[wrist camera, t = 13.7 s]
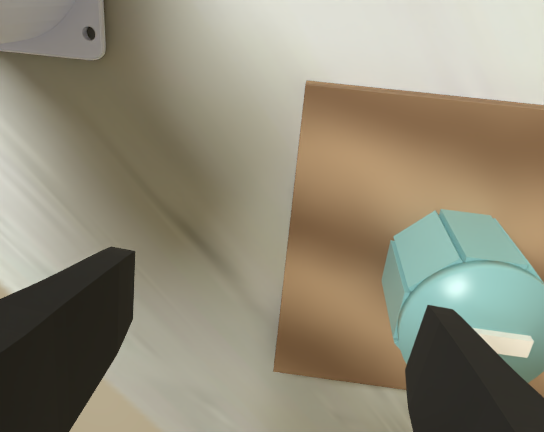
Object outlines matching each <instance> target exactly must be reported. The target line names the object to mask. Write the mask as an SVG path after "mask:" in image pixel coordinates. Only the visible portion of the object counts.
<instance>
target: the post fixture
mask: <svg viewBox="0 0 544 432" xmlns="http://www.w3.org/2000/svg"><path fill="white" fill-rule="evenodd" d="M441 209H445V210H453V211H461V212H469V213H476V214H484V215H491V217H492V218H493V219H494V218H496V220H497V221H498V222H499V224H500V225H501V226H502V228H503V229H504V230H505V232H506V233H507V234H508V235H509V237H510V238H511V239H512V241H513V242H514V243H515V245H516V246H517V247H518V249H519V250H520V251H521V252H522V254H523V255H524V256H525V258H526V259H527V260H528V262H529V263H530V264H531V266H532V267H533V268H534V270H535V271H536V273H537V274H538V275H539V277H540V278H541V280H542V281H543V283H544V105H536V104H526V103H517V102H507V101H498V100H488V99H478V98H469V97H459V96H450V95H440V94H430V93H421V92H411V91H402V90H392V89H382V88H373V87H363V86H354V85H344V84H334V83H325V82H315V81H306V86H305V94H304V103H303V112H302V121H301V130H300V139H299V148H298V157H297V166H296V175H295V183H294V192H293V201H292V210H291V219H290V228H289V237H288V246H287V255H286V263H285V272H284V281H283V290H282V299H281V308H280V317H279V326H278V335H277V344H276V352H275V361H274V370H273V372H280V373H288V374H295V375H302V376H310V377H317V378H324V379H331V380H339V381H346V382H353V383H361V384H368V385H375V386H383V387H390V388H397V389H404V390H406V377H405V368H406V365H407V364H406V362H405V361H404V359H403V356H402V353H401V350H400V349H399V348H398V347H397V346H396V345H395V343H394V340H393V336H392V331H391V326H390V321H389V316H388V311H387V306H386V301H385V296H384V291H383V286H382V276H383V271H384V267H385V262H386V258H387V254H388V249H389V245H390V240H392V241H395V240H394V236H395V235H396V234H398V233H400V232H401V231H403V230H404V229H406V228H408V227H409V226H411V225H412V224H414V223H416V222H417V221H419V220H420V219H422V218H424V217H425V216H427V215H428V214H430V213H432V212H433V211H435V210H436V212H437V213H438V215H439V214H440V210H441ZM528 384H529V385H530V386H532V387H533V388H534V389H535V390H536V391H537V392H538V393H539V394H540V395H542V396H543V397H544V371H543V372H542V373H541V374H540V375H539V376H537V377H536V378H535V379H533V380H532V381H530V382H529V383H528Z"/></svg>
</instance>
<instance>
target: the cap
mask: <svg viewBox="0 0 544 432" xmlns="http://www.w3.org/2000/svg"><path fill="white" fill-rule="evenodd" d="M394 240H395V241H392V240H390V245H389V249H388V254H387V258H386V262H385V267H384V271H383V276H382V286H383V291H384V296H385V301H386V306H387V311H388V316H389V321H390V326H391V331H392V336H393V340H394V343H395V345H396V346H397V347H398V348H399V349H400V350H401V353H402V356H403V359H404V361H405V362H406V364H407V362H408V360H409V357H410V354H411V351H412V348H413V345H414V342H415V339H416V336H417V334H418V331H419V328H420V325H421V322H422V319H423V316H424V313H425V311H426V308H427V305H432V306H438V307H443V308H449V309H453V310H454V311H455V312H457V313H458V314H459V315H460V316H461V317H462V318H463V319H464V320H465V321H466V322H467V323H468V324H469V325H470V326H471V327H472V328H473V329H474V330H475V331H476V332H477V333H478V334H479V335H480V336H481V337H482V338H483V339H484V340H485V341H486V342H487V343H488V345H489V346H490V347H491V348H492V349H493V350H494V351H495V352H496V353H497V354H498V355H499V356H500V357H501V358H502V359H503V360H504V361H505V362H506V363H507V364H508V365H509V366H510V367H511V368H512V369H513V370H514V371H516V372H517V373H518V374H519V375H520V376H521V377H522V378H523V379H524V380H525V381H526V382H527V383H529V382H530V381H532V380H533V379H535V378H536V377H537V376H539V375H540V374H541V373H542V372H543V371H544V283H543V281H542V280H541V278H540V277H539V275H538V274H537V273H536V271H535V270H534V268H533V267H532V266H531V264H530V263H529V262H528V260H527V259H526V258H525V256H524V255H523V254H522V252H521V251H520V250H519V249H518V247H517V246H516V245H515V243H514V242H513V241H512V239H511V238H510V237H509V235H508V234H507V233H506V232H505V230H504V229H503V228H502V226H501V225H500V224H499V222H498V221H497V220H496V218H494V219H493V218H492V217H491V215H484V214H476V213H469V212H461V211H453V210H445V209H441V210H440V214H439V215H438V213H437V212H436V210H435V211H433V212H432V213H430V214H428V215H427V216H425V217H424V218H422V219H420V220H419V221H417V222H416V223H414V224H412V225H411V226H409V227H408V228H406V229H404V230H403V231H401V232H400V233H398V234H396V235H395V236H394Z"/></svg>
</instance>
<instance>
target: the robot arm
mask: <svg viewBox="0 0 544 432" xmlns="http://www.w3.org/2000/svg"><path fill="white" fill-rule="evenodd" d="M88 27H92V28H93V29H94V31H95V34H96V35H95V38H94V39H93V40H92V39H90V38H89V37H88V35H87V28H88ZM0 51H6V52H15V53H25V54H34V55H44V56H53V57H63V58H73V59H82V60H97V59H100V58H101V57H103V55H104V54H105V51H106V40H105V22H104V4H103V0H0ZM134 270H135V251H131V250H126V249H121V248H115V247H109V248H107V249H105V250H102V251H100V252H98V253H96V254H94V255H92V256H90V257H88V258H86V259H84V260H82V261H80V262H78V263H76V264H75V265H73V266H71V267H69V268H67V269H65V270H63V271H60V272H58V273H56V274H54V275H52V276H50V277H48V278H46V279H44V280H42V281H40V282H38V283H35V284H33V285H31V286H29V287H26V288H24V289H22V290H20V291H17V292H15V293H13V294H11V295H8V296H6V297H4V298H2V299H0V432H69V431H70V429H71V428H72V426H73V424H74V423H75V421H76V420H77V418H78V416H79V415H80V413H81V412H82V410H83V409H84V407H85V405H86V403H87V402H88V401H89V399H90V397H91V396H92V394H93V393H94V391H95V389H96V388H97V386H98V385H99V383H100V381H101V380H102V378H103V376H104V375H105V373H106V372H107V370H108V368H109V367H110V365H111V363H112V362H113V360H114V358H115V357H116V355H117V353H118V351H119V349H120V347H121V345H122V342H123V340H124V338H125V336H126V334H127V331H128V329H129V327H130V324H131V322H132V320H133V299H134ZM405 377H406V391H407V401H408V409H409V414H410V419H411V423H412V428H413V432H544V397H543V396H542V395H540V394H539V393H538V392H537V391H536V390H535V389H534V388H533V387H532V386H530V385H529V384H528V383H527V382H526V381H525V380H524V379H523V378H522V377H521V376H520V375H519V374H518V373H517V372H516V371H514V370H513V369H512V368H511V367H510V366H509V365H508V364H507V363H506V362H505V361H504V360H503V359H502V358H501V357H500V356H499V355H498V354H497V353H496V352H495V351H494V350H493V349H492V348H491V347H490V346H489V345H488V343H487V342H486V341H485V340H484V339H483V338H482V337H481V336H480V335H479V334H478V333H477V332H476V331H475V330H474V329H473V328H472V327H471V326H470V325H469V324H468V323H467V322H466V321H465V320H464V319H463V318H462V317H461V316H460V315H459V314H458V313H457V312H455V311H454V310H453V309H449V308H443V307H438V306H432V305H427V308H426V311H425V313H424V316H423V319H422V322H421V325H420V328H419V331H418V334H417V336H416V339H415V342H414V345H413V348H412V351H411V354H410V357H409V360H408V362H407V365H406V368H405Z"/></svg>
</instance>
